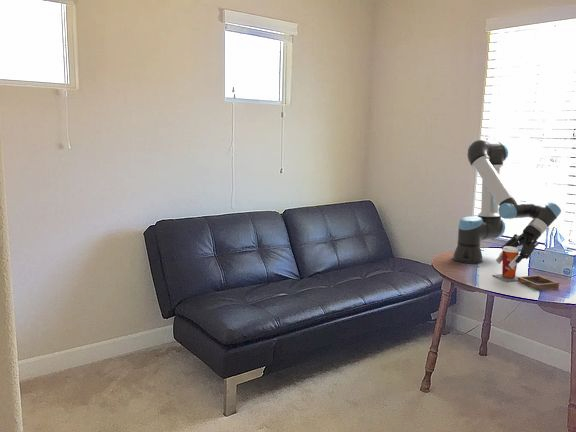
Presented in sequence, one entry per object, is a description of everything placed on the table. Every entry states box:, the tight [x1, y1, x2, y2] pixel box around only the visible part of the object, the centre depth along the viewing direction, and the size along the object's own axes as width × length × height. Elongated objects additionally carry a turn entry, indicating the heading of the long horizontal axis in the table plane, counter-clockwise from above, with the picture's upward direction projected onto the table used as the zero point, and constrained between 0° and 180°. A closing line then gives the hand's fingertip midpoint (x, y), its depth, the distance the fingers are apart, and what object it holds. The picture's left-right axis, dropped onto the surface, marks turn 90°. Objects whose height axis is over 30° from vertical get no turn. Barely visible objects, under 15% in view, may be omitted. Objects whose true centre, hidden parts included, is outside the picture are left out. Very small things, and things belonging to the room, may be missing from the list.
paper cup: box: [501, 246, 521, 278], centre depth 234 cm, size 8×8×14 cm
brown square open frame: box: [516, 274, 560, 291], centre depth 226 cm, size 12×12×2 cm
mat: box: [491, 273, 519, 283], centre depth 235 cm, size 10×10×1 cm
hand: (503, 264), depth 233 cm, fingers open, 8 cm apart
